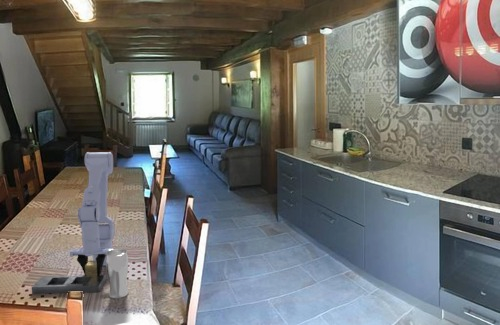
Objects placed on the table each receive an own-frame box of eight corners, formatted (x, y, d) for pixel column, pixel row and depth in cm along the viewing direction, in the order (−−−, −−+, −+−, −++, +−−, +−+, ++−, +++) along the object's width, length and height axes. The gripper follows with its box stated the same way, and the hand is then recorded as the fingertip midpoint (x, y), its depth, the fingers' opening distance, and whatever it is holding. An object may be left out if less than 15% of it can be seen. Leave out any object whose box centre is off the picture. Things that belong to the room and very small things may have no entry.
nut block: (89, 276, 147) (88, 260, 146) (100, 275, 147) (99, 260, 146) (85, 281, 143) (84, 265, 142) (97, 280, 143) (96, 265, 142)
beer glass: (107, 291, 136) (105, 249, 134) (128, 287, 139) (126, 246, 136) (108, 301, 130) (105, 257, 127) (130, 297, 132) (128, 254, 130)
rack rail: (42, 282, 142) (42, 276, 141) (105, 281, 144) (105, 274, 143) (32, 293, 134) (31, 287, 134) (99, 291, 136) (98, 285, 135)
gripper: (65, 242, 138) (68, 279, 140) (108, 241, 139) (110, 278, 141) (73, 235, 145) (75, 270, 147) (113, 234, 146) (115, 269, 148)
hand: (93, 273), depth 145 cm, fingers closed on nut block, 4 cm apart
